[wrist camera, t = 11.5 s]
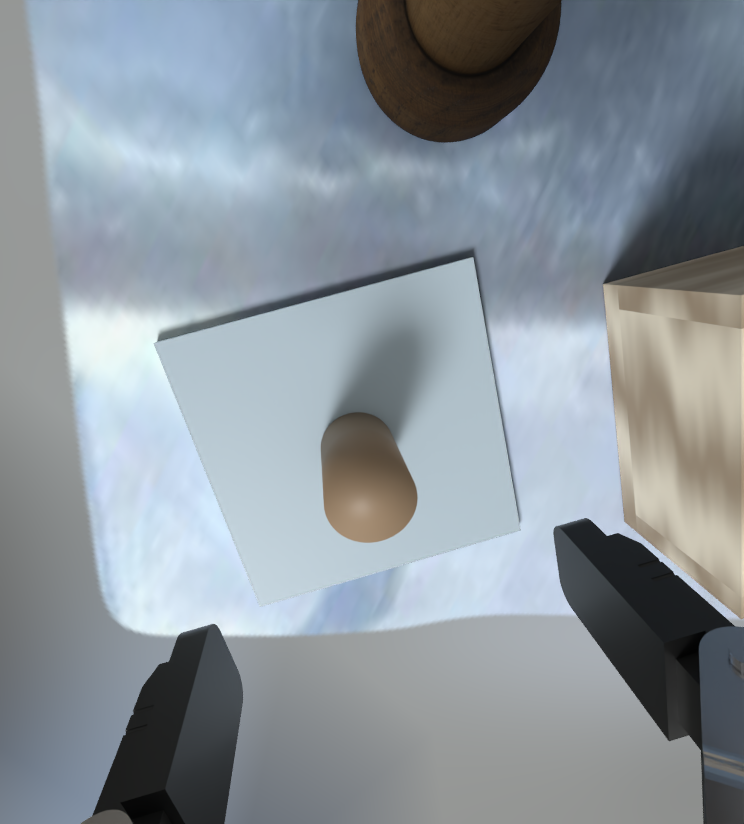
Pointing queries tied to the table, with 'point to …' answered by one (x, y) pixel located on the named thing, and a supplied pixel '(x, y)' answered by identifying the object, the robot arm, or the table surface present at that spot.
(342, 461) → the lid
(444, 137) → the mortar and pestle
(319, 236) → the table surface
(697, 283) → the box
